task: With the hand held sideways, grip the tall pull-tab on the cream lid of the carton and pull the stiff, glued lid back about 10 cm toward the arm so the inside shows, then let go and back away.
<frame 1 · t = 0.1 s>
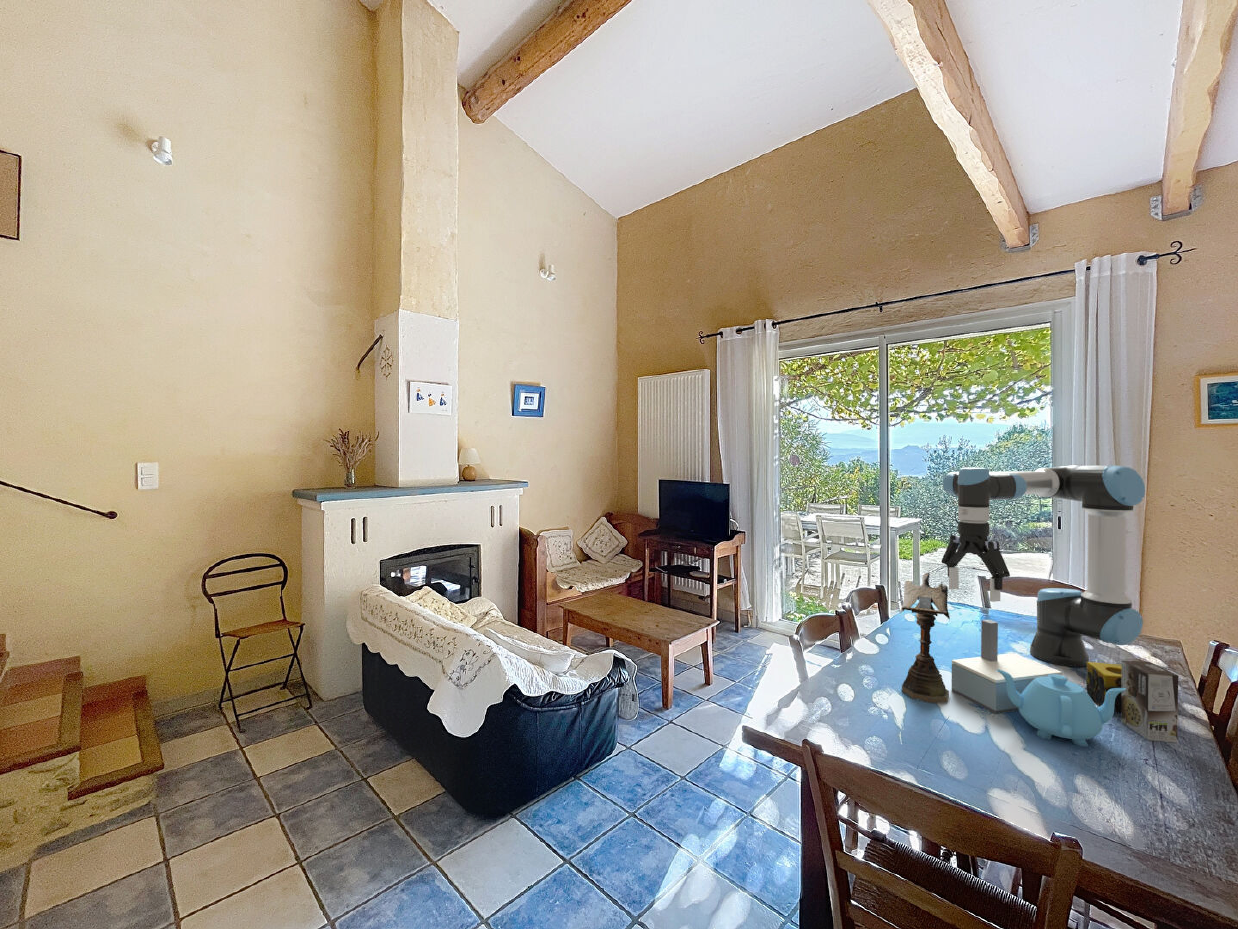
hand: (973, 595, 153), 28 cm above the table, tool pointing down, fingers open, 13 cm apart
carton: (1004, 697, 149), on the table
carton lid: (1005, 647, 149), point 14 cm above the table, slide at 0.0 cm
bird statue: (927, 698, 149), on the table
candle: (1117, 707, 144), on the table
teapot: (1056, 733, 131), on the table
coffee box: (1148, 733, 130), on the table
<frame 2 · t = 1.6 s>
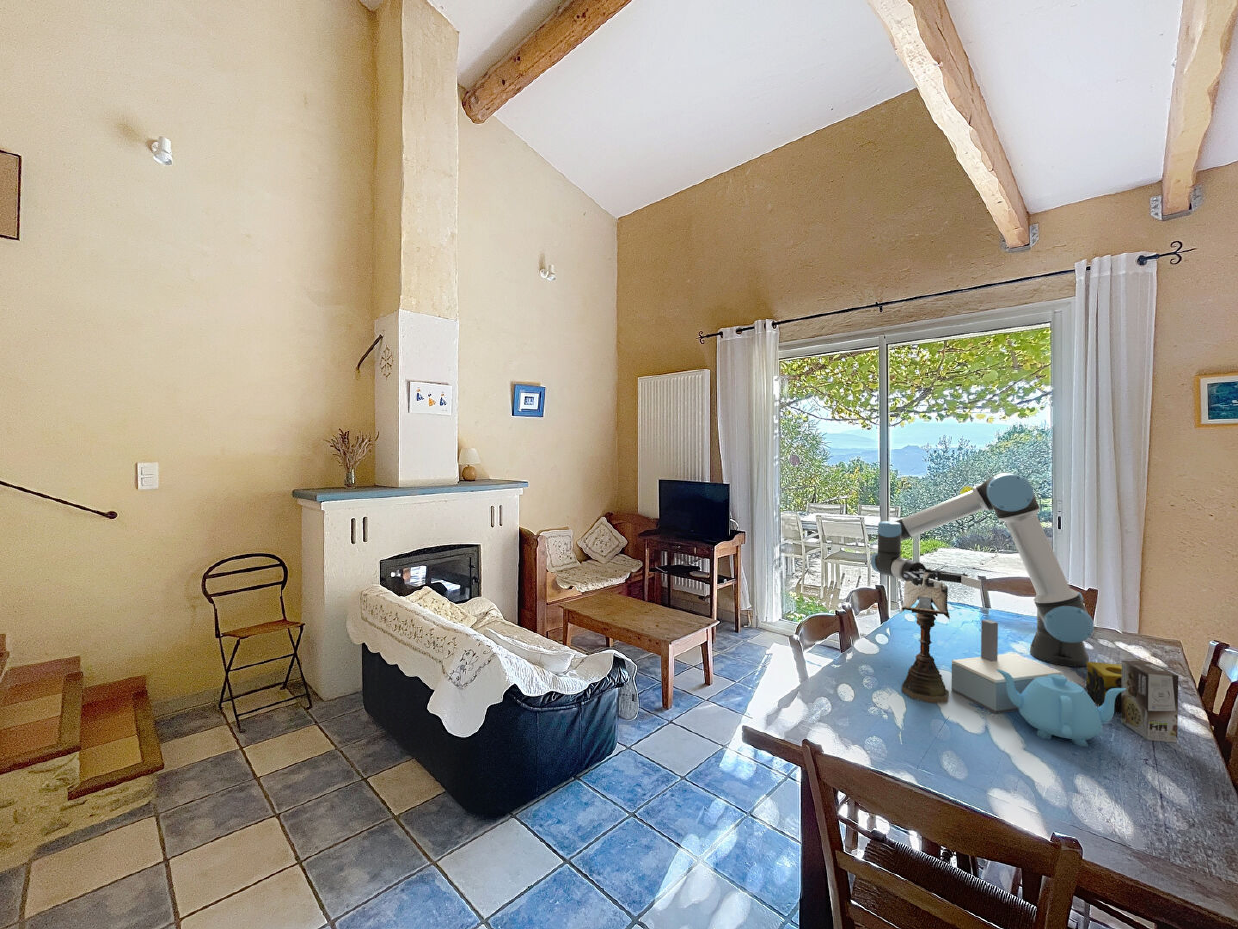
hand: (962, 586, 162), 28 cm above the table, tool horizontal, fingers open, 13 cm apart
nothing on the table moved.
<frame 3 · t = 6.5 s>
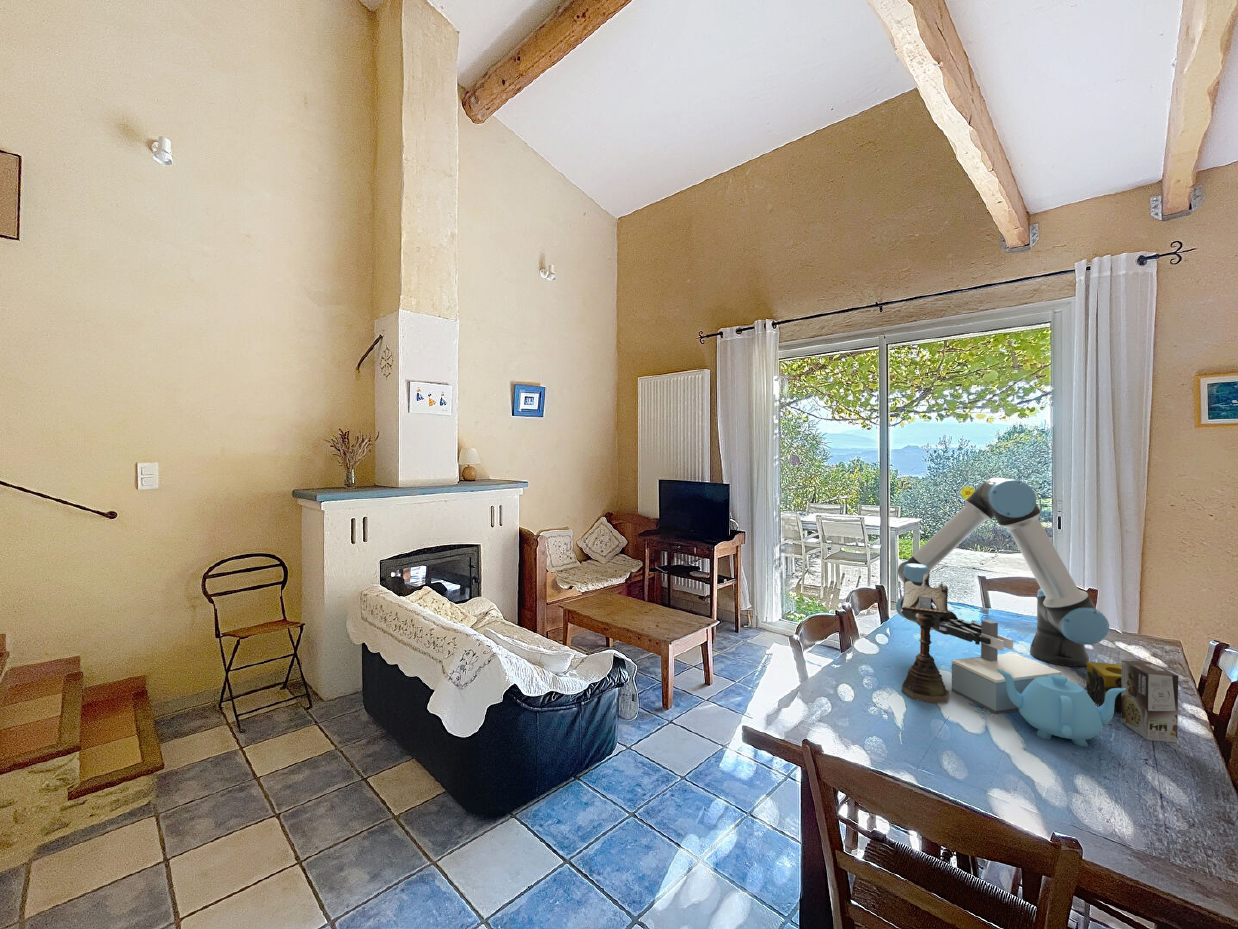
hand: (1007, 645, 148), 15 cm above the table, tool horizontal, fingers closed on carton lid, 2 cm apart
carton lid: (1005, 647, 149), point 14 cm above the table, slide at 0.0 cm, touching gripper
everything else where it was.
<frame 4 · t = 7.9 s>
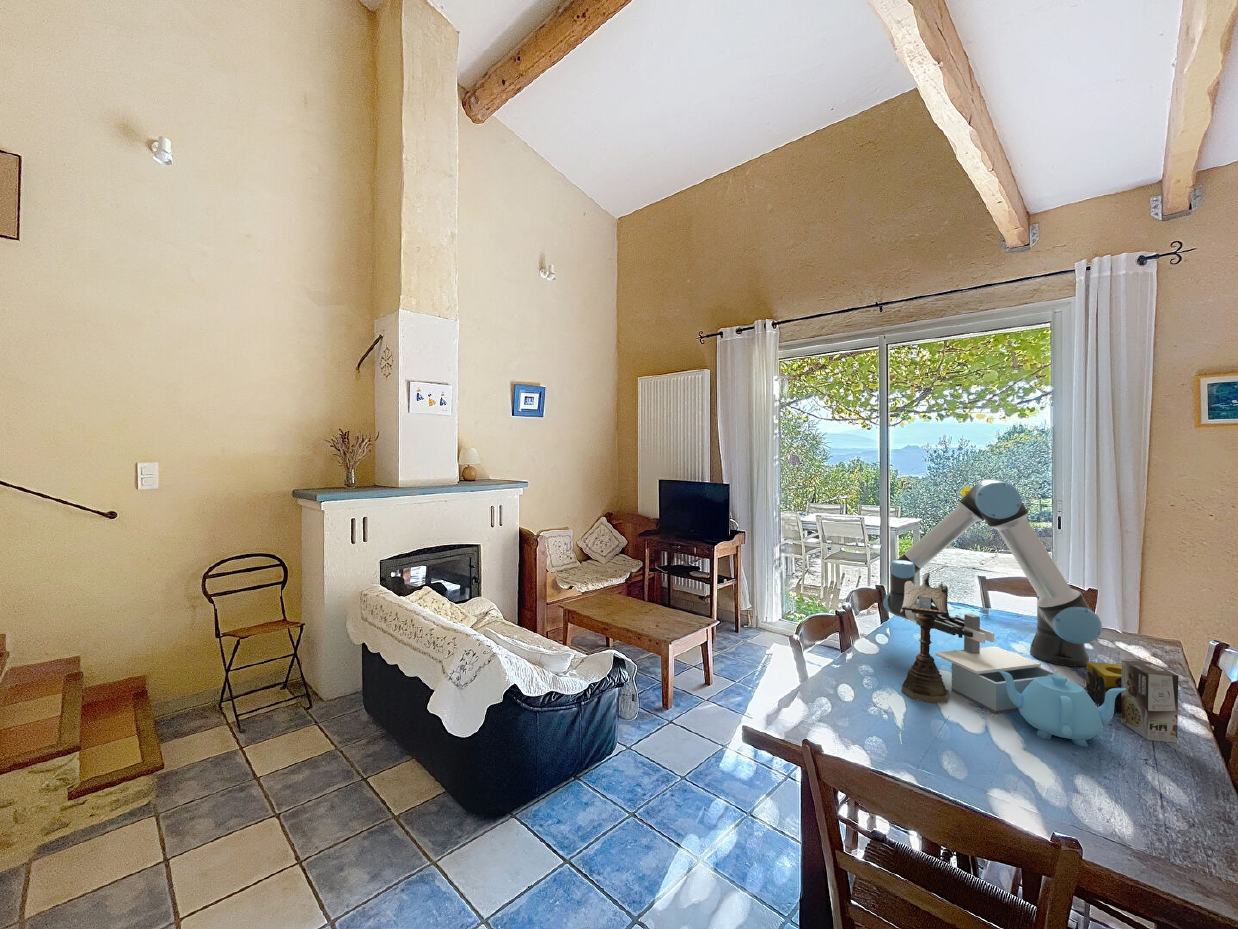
hand: (988, 638, 154), 15 cm above the table, tool horizontal, fingers closed on carton lid, 3 cm apart
carton lid: (986, 640, 154), point 14 cm above the table, slide at 5.8 cm, touching gripper
everything else where it was.
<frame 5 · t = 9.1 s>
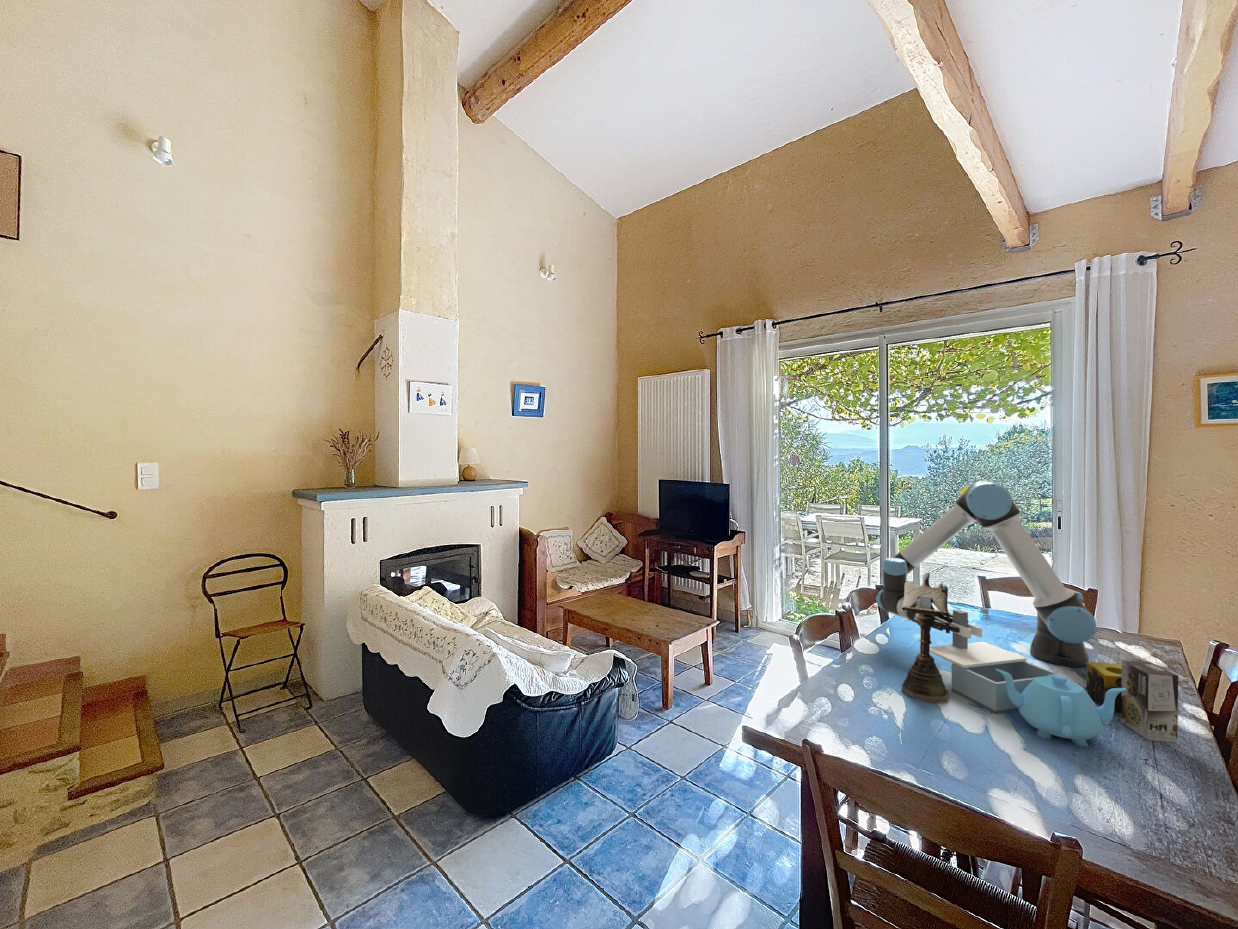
hand: (975, 633, 158), 15 cm above the table, tool horizontal, fingers open, 3 cm apart
carton lid: (974, 635, 158), point 14 cm above the table, slide at 10.0 cm
everything else where it was.
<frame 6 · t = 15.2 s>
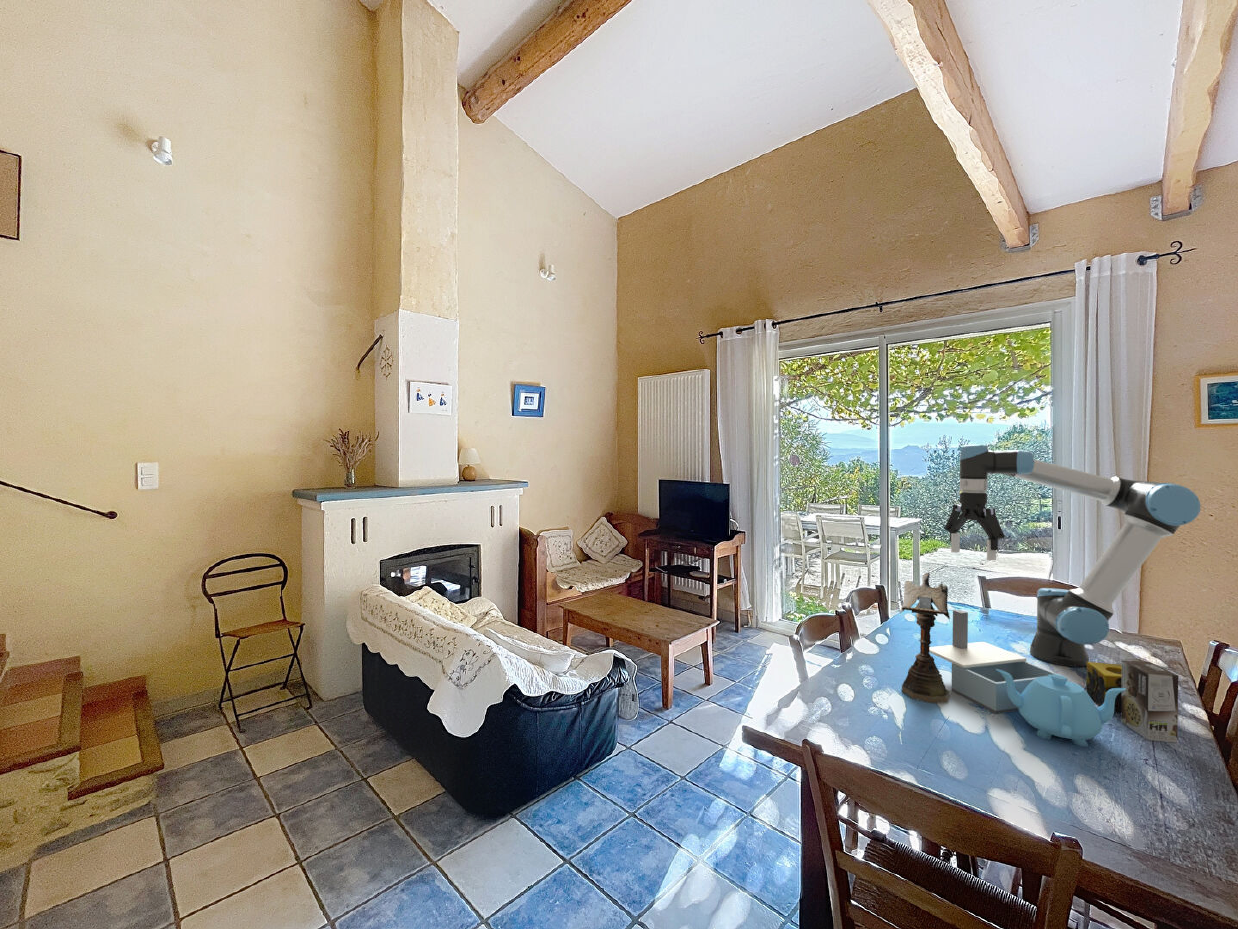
hand: (972, 556, 175), 35 cm above the table, tool pointing down, fingers open, 13 cm apart
nothing on the table moved.
at the end: carton lid slide at 10.0 cm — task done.
